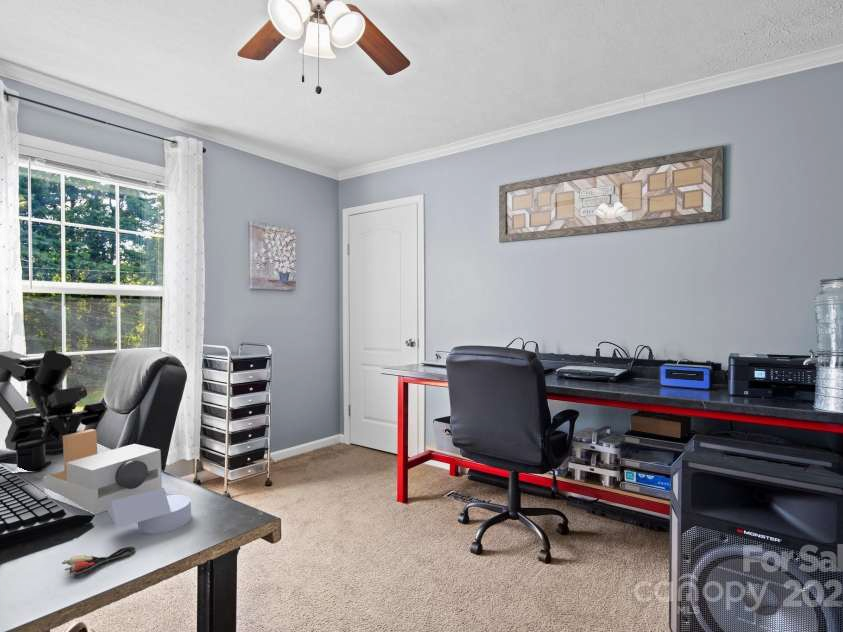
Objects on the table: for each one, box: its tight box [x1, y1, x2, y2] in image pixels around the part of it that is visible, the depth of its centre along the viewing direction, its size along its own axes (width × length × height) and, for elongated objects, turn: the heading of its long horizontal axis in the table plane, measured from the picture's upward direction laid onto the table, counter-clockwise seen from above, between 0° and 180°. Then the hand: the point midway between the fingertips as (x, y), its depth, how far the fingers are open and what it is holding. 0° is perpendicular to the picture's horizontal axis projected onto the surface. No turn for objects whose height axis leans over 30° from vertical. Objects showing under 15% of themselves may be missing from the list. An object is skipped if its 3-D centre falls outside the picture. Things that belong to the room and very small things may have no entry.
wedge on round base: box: [107, 487, 192, 534], centre depth 89 cm, size 9×7×13 cm
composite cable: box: [61, 546, 136, 579], centre depth 76 cm, size 10×5×2 cm, turn 129°
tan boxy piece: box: [50, 428, 98, 481], centre depth 108 cm, size 8×12×9 cm
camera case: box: [43, 443, 163, 516], centre depth 104 cm, size 22×14×9 cm, turn 61°
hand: (74, 448), depth 110 cm, fingers closed
